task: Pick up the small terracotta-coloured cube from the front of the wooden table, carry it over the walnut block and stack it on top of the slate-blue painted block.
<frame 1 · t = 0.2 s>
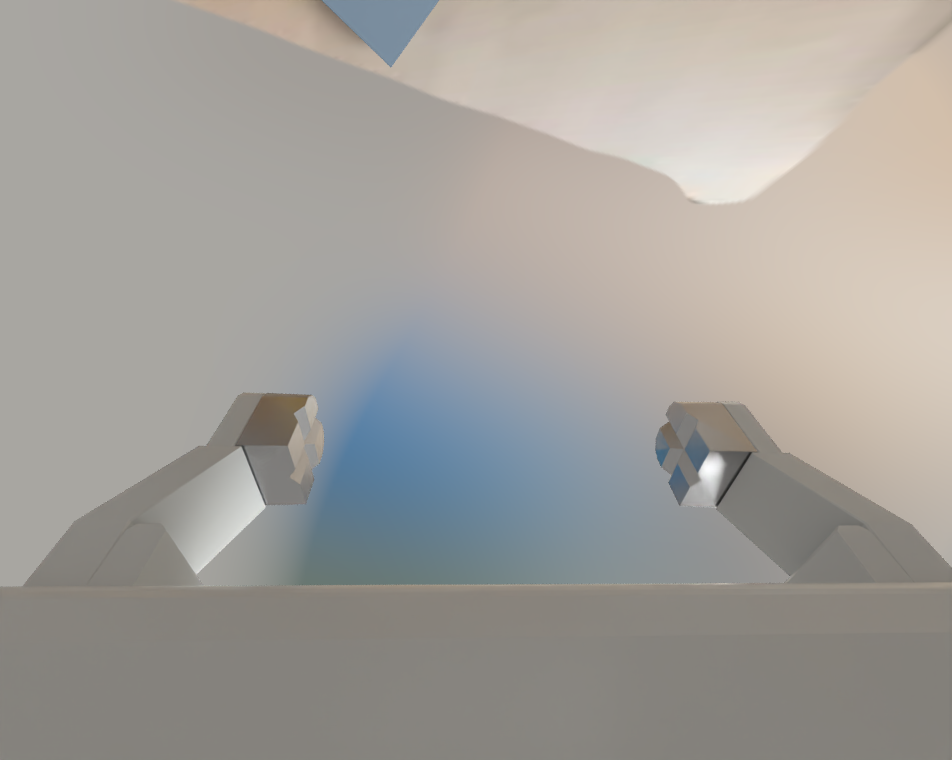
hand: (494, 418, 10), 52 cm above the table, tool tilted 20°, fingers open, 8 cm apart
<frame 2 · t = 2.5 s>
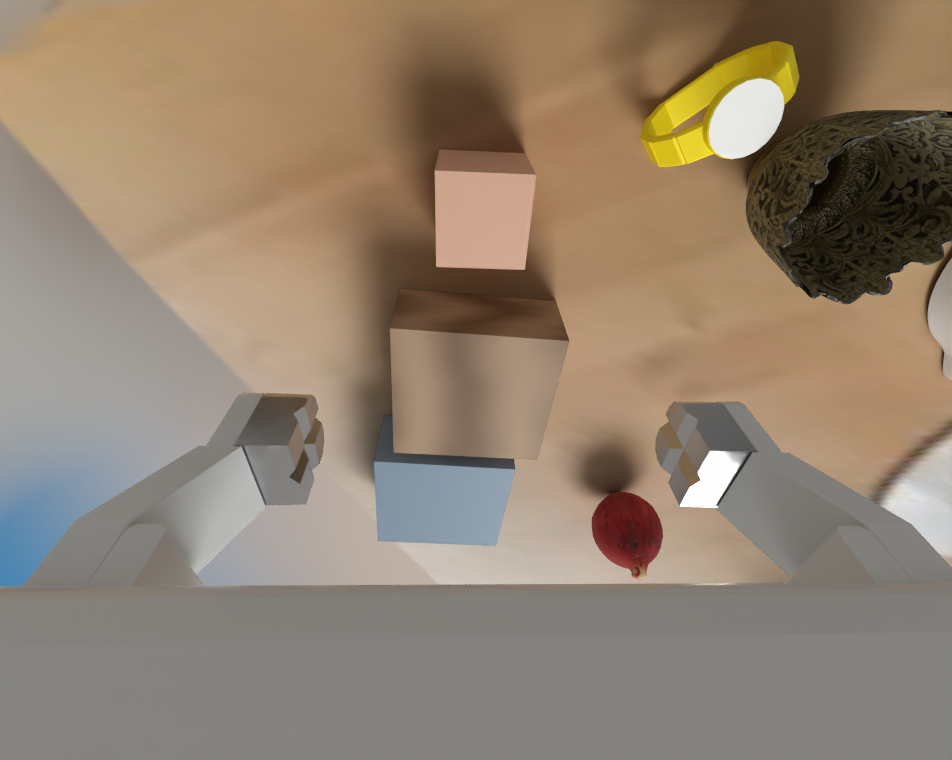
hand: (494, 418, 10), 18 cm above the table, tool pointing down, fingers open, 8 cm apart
slate-blue block: (443, 459, 38), on the table
cup: (775, 170, 24), on the table
walnut block: (471, 356, 31), on the table
terracotta cube: (480, 196, 24), on the table
watch: (686, 99, 22), on the table
onion: (614, 491, 41), on the table
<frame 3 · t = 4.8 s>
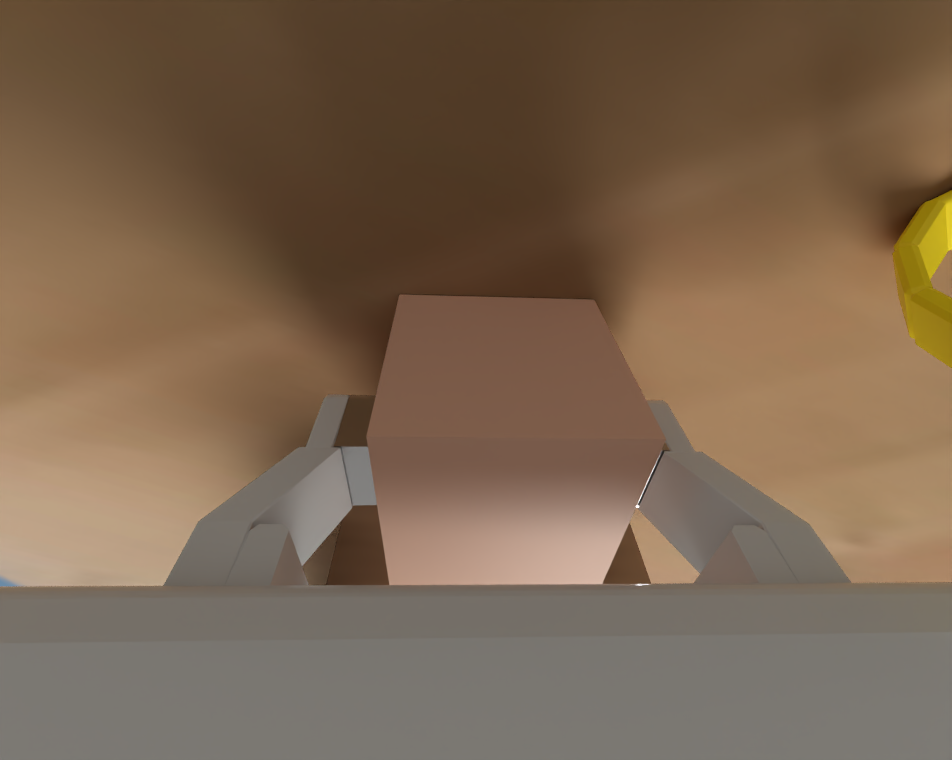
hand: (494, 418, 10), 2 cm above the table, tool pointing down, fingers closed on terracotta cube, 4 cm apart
walnut block: (472, 577, 18), on the table
terracotta cube: (491, 374, 11), on the table, touching gripper
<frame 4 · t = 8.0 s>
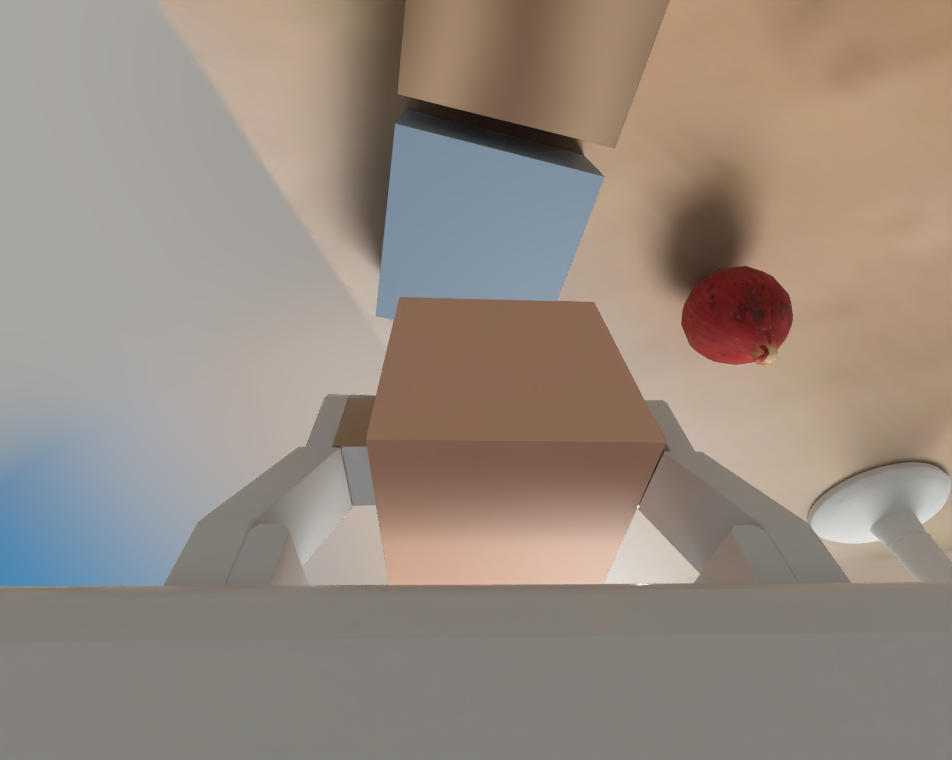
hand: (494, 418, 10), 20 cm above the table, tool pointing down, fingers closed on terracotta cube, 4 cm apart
slate-blue block: (476, 221, 27), on the table
terracotta cube: (491, 377, 11), point 18 cm above the table, touching gripper
onion: (706, 287, 30), on the table
candlestick: (872, 500, 46), on the table
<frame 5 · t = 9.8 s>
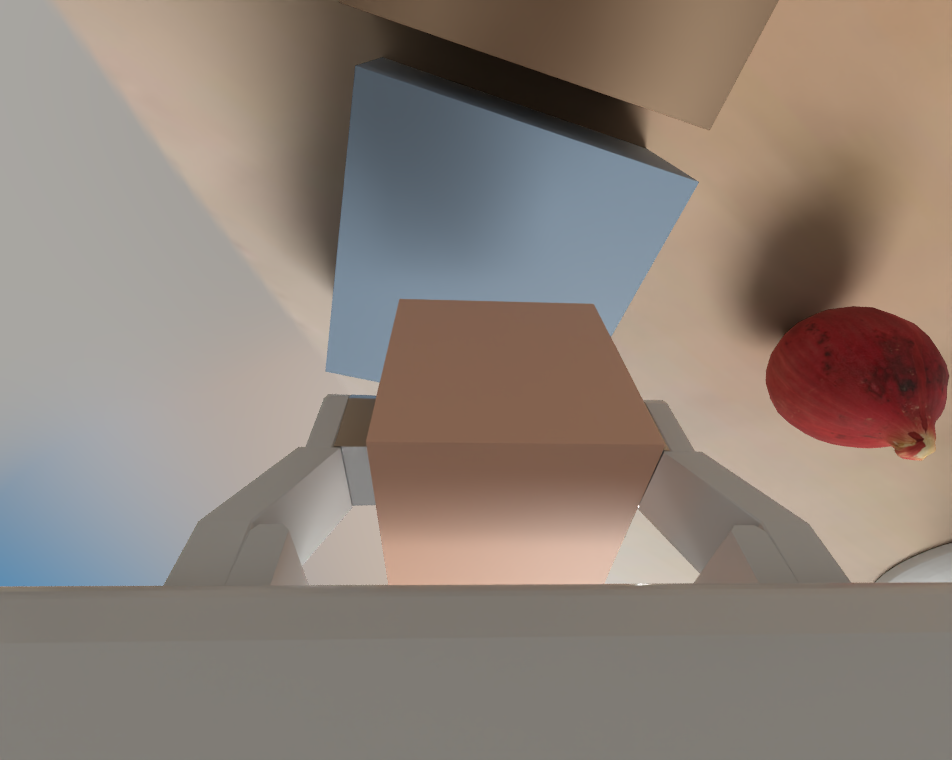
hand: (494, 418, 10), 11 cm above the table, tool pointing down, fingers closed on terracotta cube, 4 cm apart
slate-blue block: (482, 235, 19), on the table
terracotta cube: (491, 378, 11), point 9 cm above the table, touching gripper
onion: (793, 328, 22), on the table
candlestick: (950, 572, 38), on the table
when the fingers open (8 cm above the table, at t = 11.1 s): terracotta cube drops 2 cm, resting on slate-blue block.
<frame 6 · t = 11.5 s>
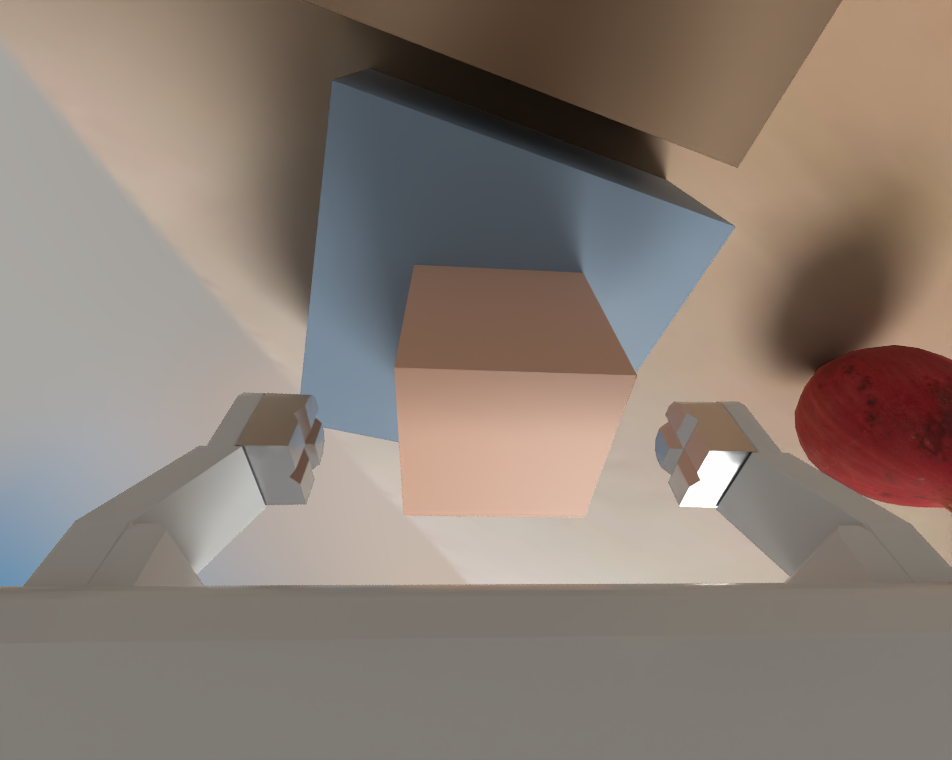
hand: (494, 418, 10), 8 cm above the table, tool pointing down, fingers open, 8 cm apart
slate-blue block: (479, 268, 17), on the table, touching terracotta cube
terracotta cube: (492, 340, 13), point 5 cm above the table, touching slate-blue block
onion: (822, 364, 20), on the table
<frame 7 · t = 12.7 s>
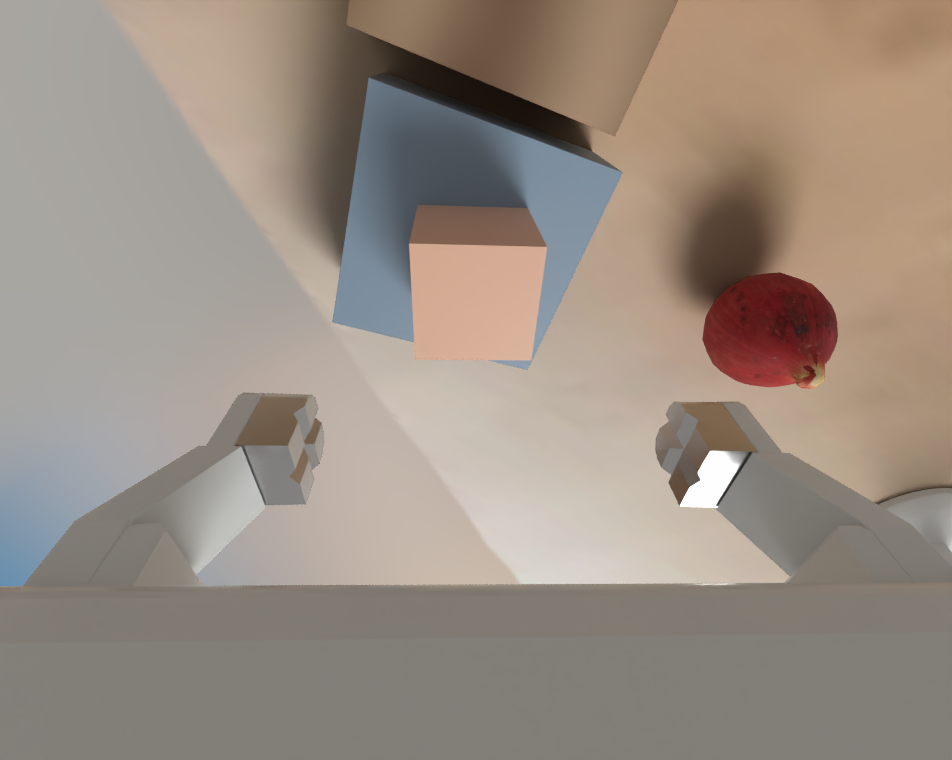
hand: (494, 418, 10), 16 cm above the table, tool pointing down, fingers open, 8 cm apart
slate-blue block: (462, 218, 23), on the table
terracotta cube: (471, 259, 19), point 5 cm above the table
onion: (727, 297, 26), on the table
candlestick: (897, 529, 42), on the table
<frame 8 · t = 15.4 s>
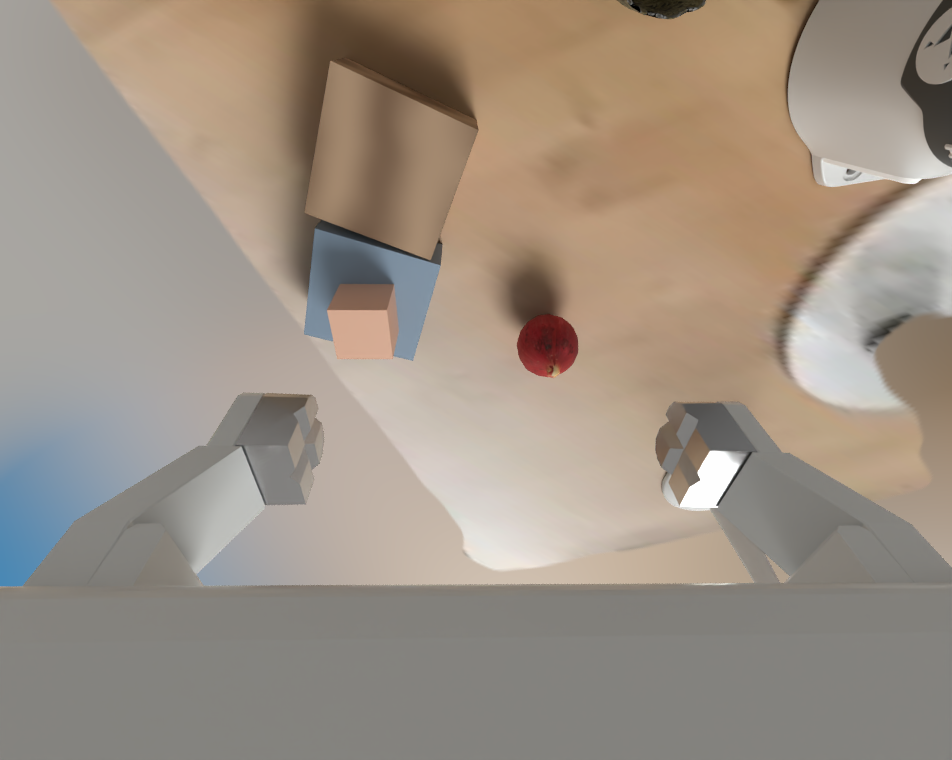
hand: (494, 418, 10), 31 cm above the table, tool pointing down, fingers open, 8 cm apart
slate-blue block: (377, 276, 41), on the table, touching terracotta cube
walnut block: (395, 158, 35), on the table
terracotta cube: (370, 308, 38), point 5 cm above the table, touching slate-blue block
onion: (541, 324, 45), on the table
candlestick: (707, 477, 61), on the table
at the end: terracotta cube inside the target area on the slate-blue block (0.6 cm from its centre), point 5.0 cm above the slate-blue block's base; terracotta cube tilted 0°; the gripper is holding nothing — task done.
